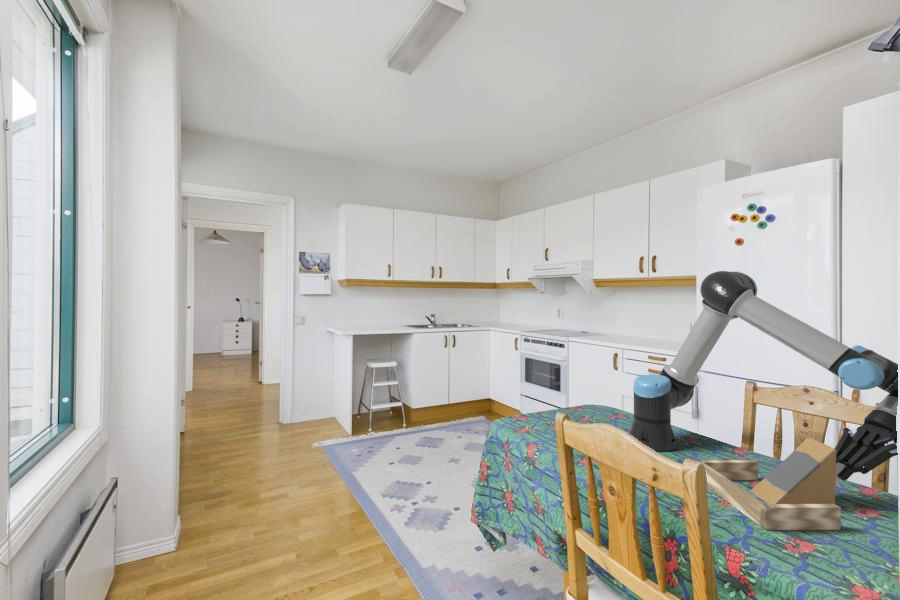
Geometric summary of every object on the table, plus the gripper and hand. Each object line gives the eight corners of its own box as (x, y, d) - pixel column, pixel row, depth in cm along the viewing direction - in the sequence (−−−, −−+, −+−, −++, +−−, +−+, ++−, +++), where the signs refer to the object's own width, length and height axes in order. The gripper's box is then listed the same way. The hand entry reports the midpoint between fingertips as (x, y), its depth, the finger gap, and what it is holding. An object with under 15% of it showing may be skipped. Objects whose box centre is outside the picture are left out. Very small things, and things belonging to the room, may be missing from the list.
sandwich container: (747, 490, 111) (748, 435, 111) (807, 492, 110) (808, 436, 110) (770, 507, 102) (771, 447, 102) (835, 509, 101) (836, 448, 101)
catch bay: (753, 477, 118) (753, 460, 118) (840, 529, 92) (840, 507, 92) (695, 477, 118) (695, 460, 118) (765, 530, 92) (766, 507, 92)
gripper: (932, 438, 98) (863, 509, 98) (875, 421, 111) (813, 483, 111) (911, 416, 98) (841, 487, 98) (856, 402, 111) (794, 464, 111)
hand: (826, 485), depth 105 cm, fingers closed
